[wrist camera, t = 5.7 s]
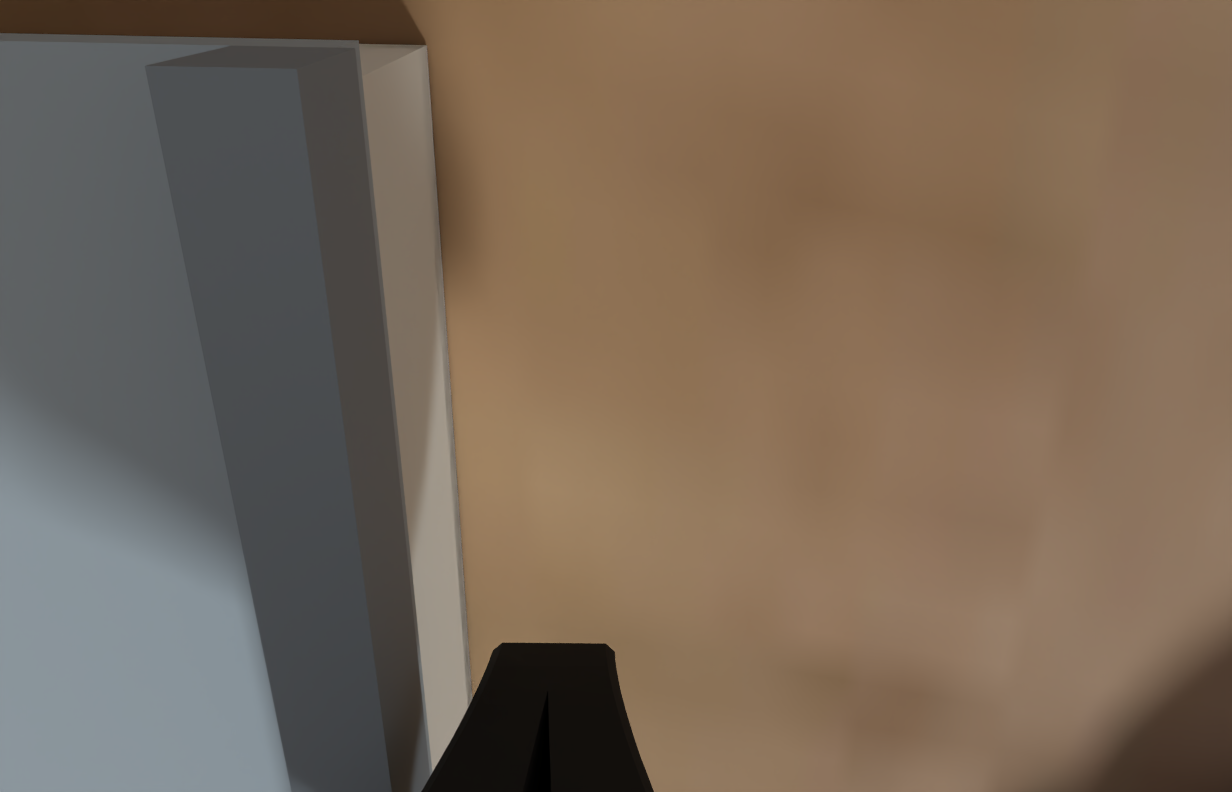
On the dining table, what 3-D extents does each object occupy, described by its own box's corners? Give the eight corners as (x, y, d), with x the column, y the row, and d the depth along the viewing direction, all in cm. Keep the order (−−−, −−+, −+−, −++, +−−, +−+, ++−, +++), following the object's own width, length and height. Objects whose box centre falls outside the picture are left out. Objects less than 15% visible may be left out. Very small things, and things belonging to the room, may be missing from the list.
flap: (467, 1022, 14) (444, 1191, 12) (77, 1020, 14) (-8, 1190, 12) (376, 40, 8) (296, 67, 6) (-343, 26, 8) (-666, 51, 6)
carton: (478, 783, 18) (445, 988, 14) (-120, 778, 18) (-302, 983, 14) (427, 44, 12) (346, 83, 8) (-486, 26, 12) (-969, 57, 8)
